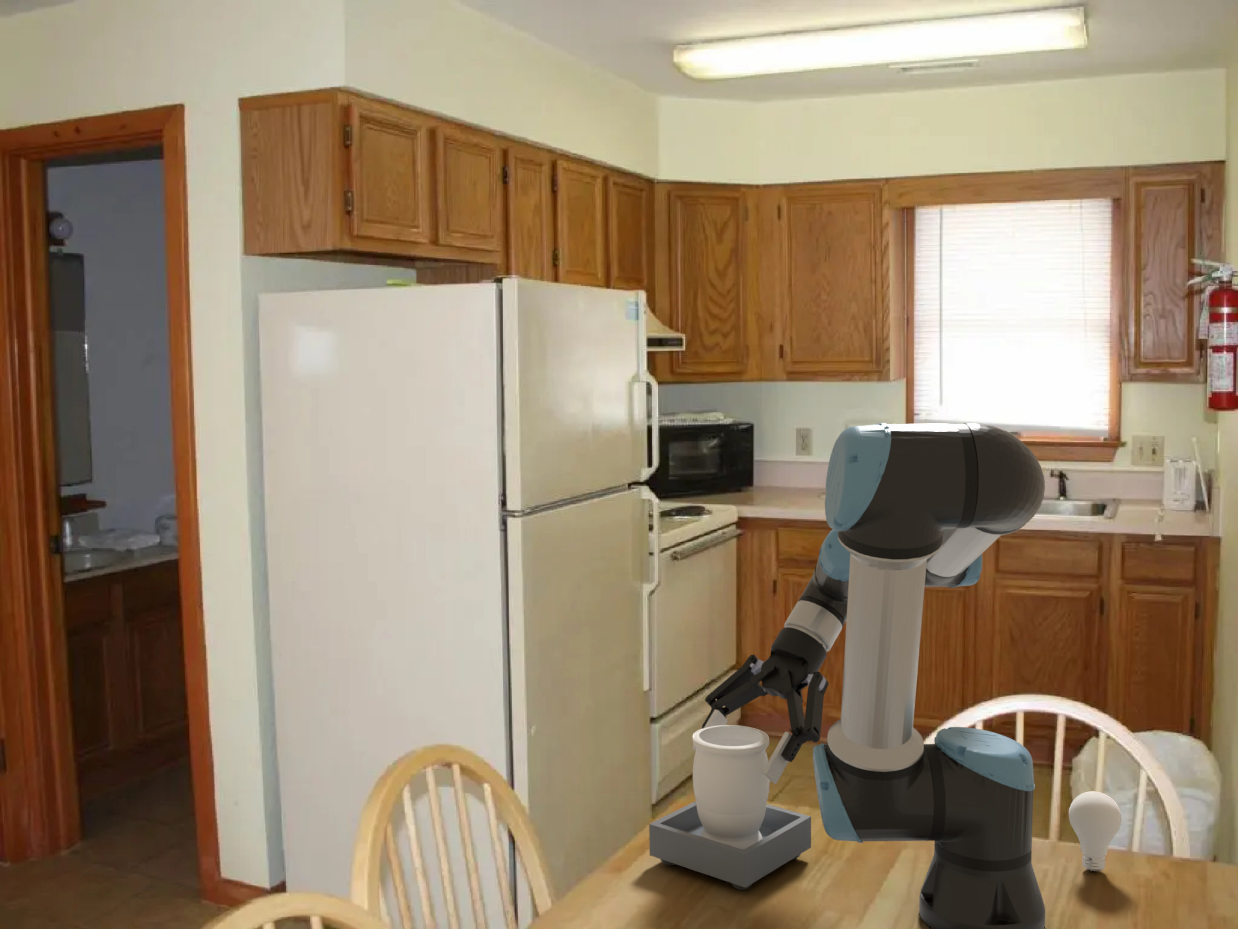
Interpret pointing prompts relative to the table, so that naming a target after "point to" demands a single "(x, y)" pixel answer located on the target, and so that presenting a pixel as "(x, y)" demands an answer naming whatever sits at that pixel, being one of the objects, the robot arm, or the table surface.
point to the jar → (731, 783)
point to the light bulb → (1094, 826)
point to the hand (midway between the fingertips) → (732, 765)
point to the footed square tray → (685, 846)
